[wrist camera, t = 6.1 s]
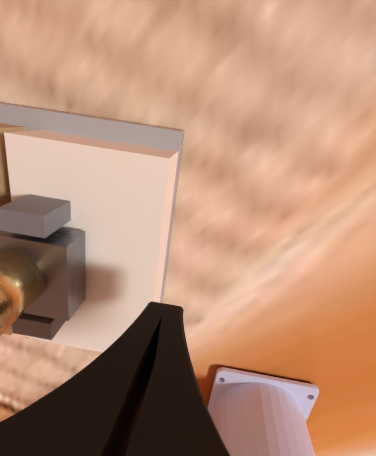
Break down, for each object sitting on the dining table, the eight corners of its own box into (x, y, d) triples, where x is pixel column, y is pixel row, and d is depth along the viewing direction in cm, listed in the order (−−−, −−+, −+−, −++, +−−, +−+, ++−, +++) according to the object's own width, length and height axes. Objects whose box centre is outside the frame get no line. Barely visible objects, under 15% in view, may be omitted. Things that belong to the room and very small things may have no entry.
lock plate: (159, 322, 21) (135, 407, 15) (-40, 285, 22) (-143, 352, 16) (184, 130, 16) (162, 138, 10) (-81, 89, 16) (-262, 72, 10)
